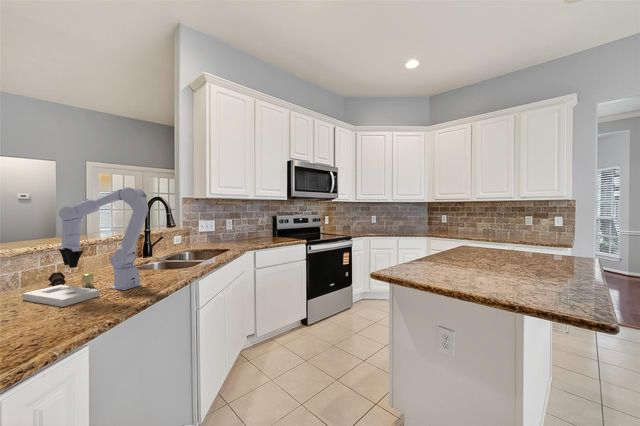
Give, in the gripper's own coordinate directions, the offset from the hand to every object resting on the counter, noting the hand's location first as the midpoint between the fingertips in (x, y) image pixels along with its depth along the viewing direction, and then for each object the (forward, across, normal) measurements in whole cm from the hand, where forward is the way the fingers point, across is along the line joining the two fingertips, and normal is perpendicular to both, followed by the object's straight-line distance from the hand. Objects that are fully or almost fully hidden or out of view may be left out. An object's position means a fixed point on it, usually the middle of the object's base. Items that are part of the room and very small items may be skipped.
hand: (70, 266), depth 116 cm
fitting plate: (+10, +11, -5) cm, 16 cm away
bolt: (+11, -14, -1) cm, 18 cm away
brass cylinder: (+10, +3, +5) cm, 12 cm away
